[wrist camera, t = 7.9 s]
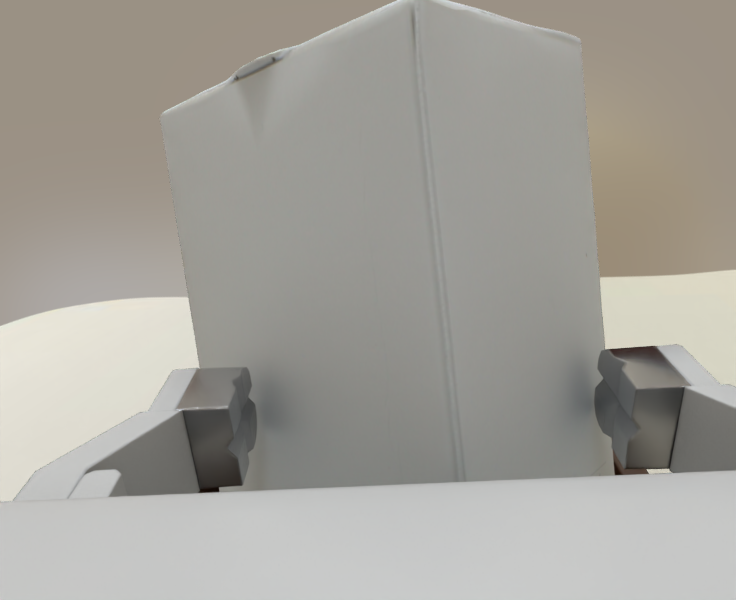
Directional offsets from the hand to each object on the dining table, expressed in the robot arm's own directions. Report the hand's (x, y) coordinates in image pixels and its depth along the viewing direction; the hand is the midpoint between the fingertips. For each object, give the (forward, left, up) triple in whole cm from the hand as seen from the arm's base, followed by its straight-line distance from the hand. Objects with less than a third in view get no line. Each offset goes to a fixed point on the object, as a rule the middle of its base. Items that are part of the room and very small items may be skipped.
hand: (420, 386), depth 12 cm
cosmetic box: (0, +1, -8) cm, 8 cm away
